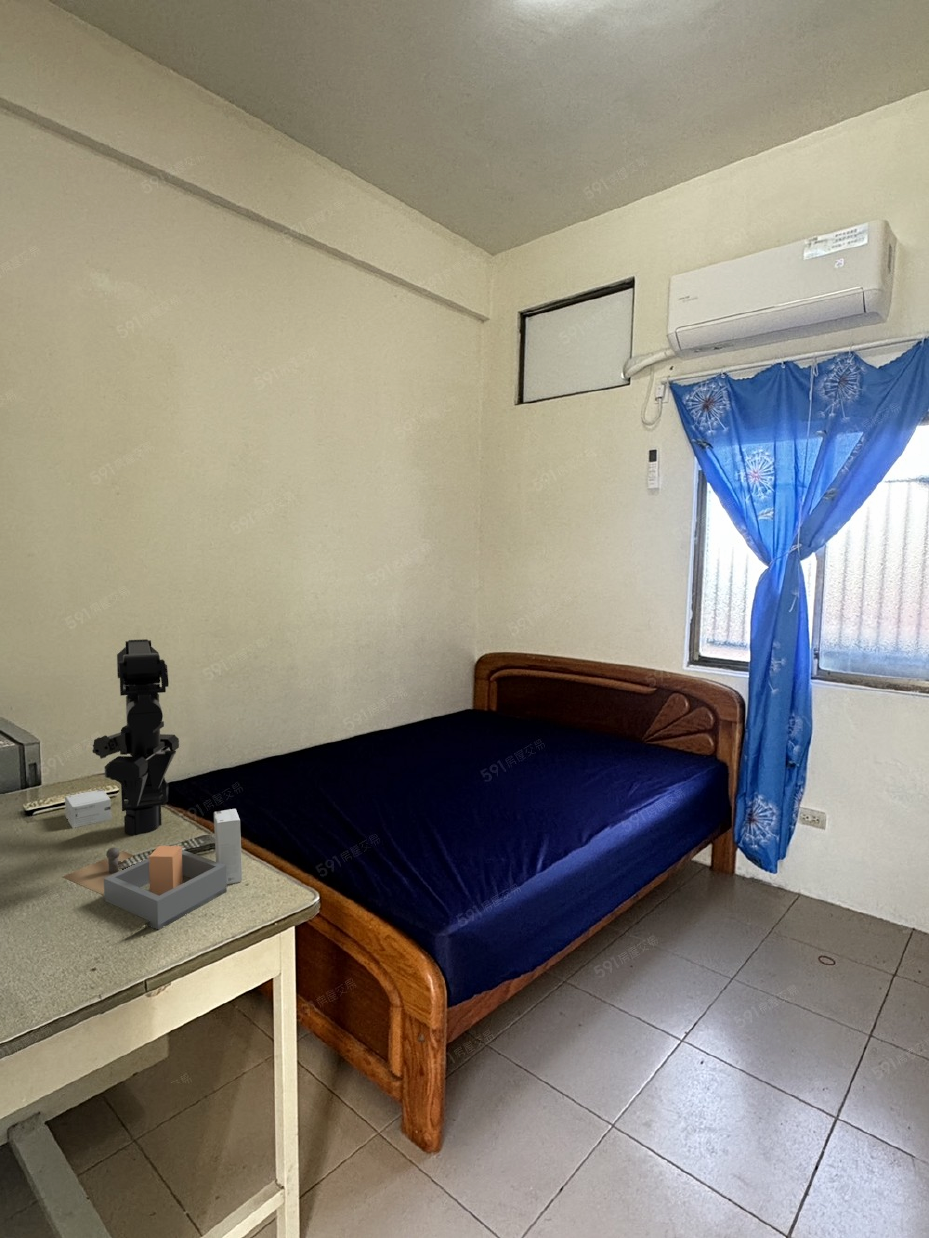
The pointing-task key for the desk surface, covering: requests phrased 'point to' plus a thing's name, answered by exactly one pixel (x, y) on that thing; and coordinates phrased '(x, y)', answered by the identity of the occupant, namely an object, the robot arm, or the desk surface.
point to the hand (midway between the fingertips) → (145, 797)
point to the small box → (87, 808)
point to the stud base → (99, 871)
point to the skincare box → (228, 843)
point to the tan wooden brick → (165, 869)
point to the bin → (172, 903)
